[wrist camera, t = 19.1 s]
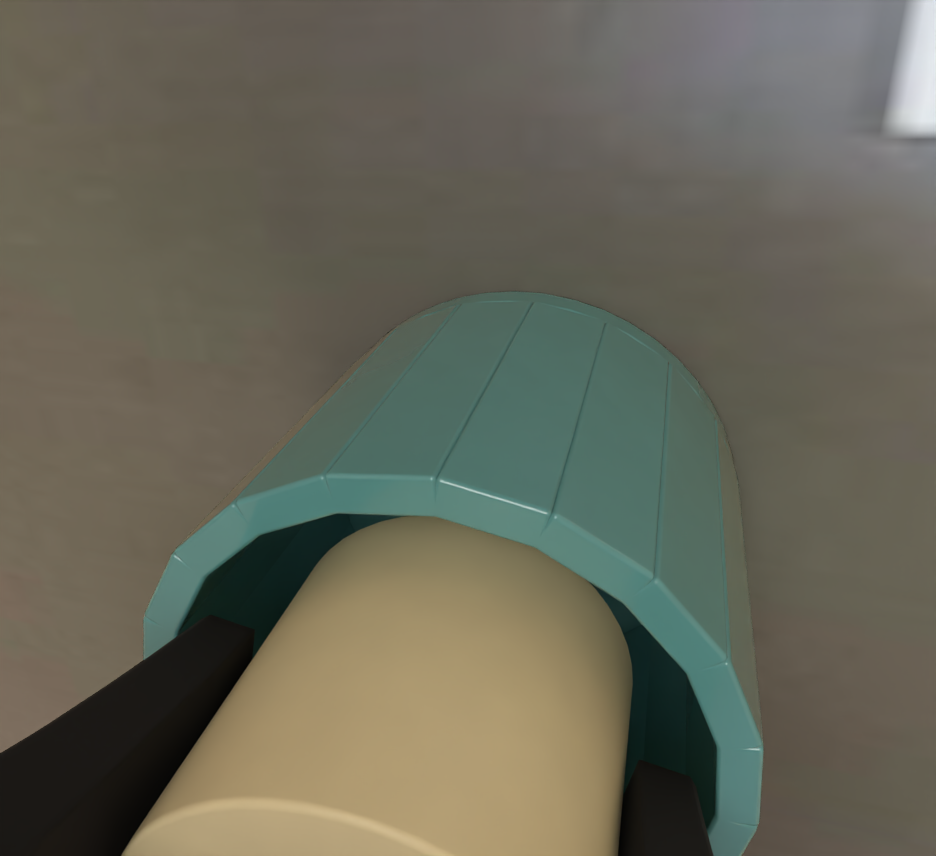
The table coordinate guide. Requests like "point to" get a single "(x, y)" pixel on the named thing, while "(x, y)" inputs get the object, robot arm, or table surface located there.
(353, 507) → the pen holder
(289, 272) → the table surface
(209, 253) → the table surface
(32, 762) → the robot arm
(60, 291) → the table surface
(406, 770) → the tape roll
